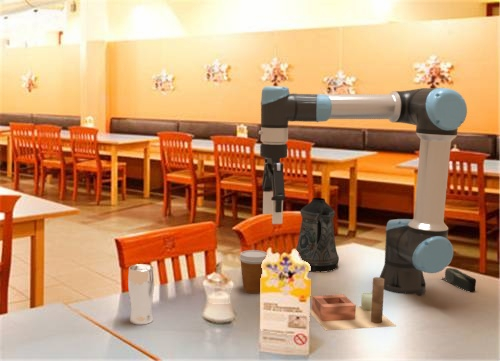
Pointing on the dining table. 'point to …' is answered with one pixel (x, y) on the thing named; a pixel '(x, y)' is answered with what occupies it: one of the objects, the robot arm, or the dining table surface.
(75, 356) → the dining table surface
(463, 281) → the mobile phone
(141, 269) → the beer glass
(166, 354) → the dining table surface
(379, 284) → the brown wooden cylinder
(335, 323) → the board
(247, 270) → the disposable coffee cup
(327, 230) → the beer stein
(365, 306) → the loose bead
